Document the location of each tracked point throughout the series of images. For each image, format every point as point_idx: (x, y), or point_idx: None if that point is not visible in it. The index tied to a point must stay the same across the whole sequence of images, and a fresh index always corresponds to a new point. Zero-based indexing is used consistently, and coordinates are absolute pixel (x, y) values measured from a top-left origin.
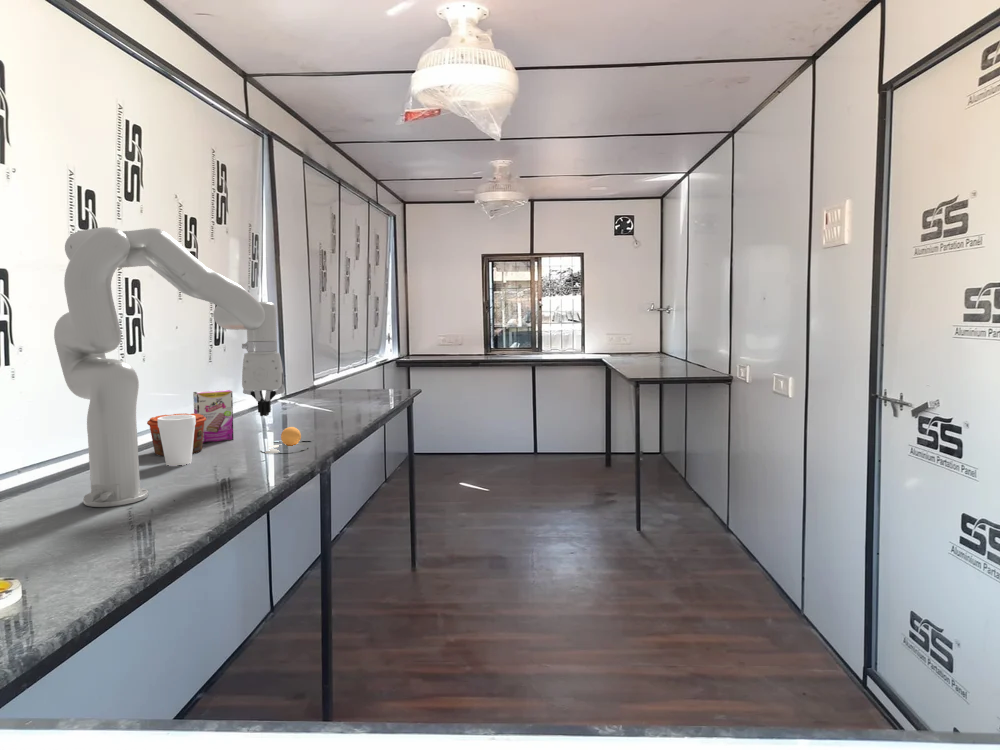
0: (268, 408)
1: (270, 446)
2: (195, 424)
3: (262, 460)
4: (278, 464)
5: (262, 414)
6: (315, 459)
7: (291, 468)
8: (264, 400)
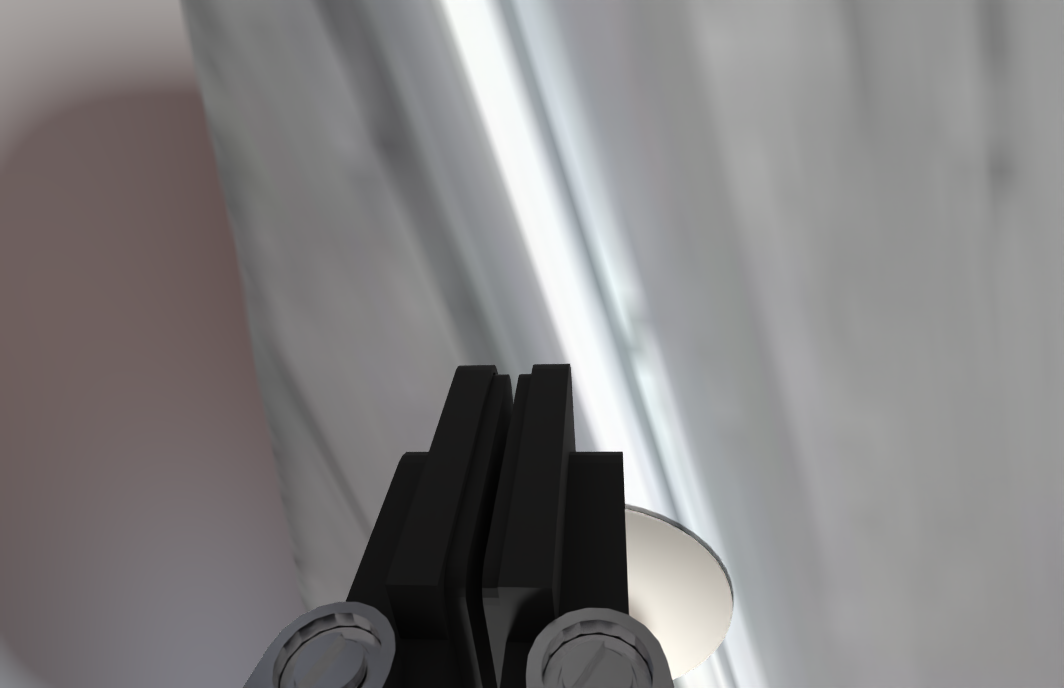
0: (403, 496)
1: (691, 658)
2: None
3: (648, 346)
4: (483, 214)
5: (524, 380)
6: (277, 351)
7: (320, 63)
8: (445, 658)
